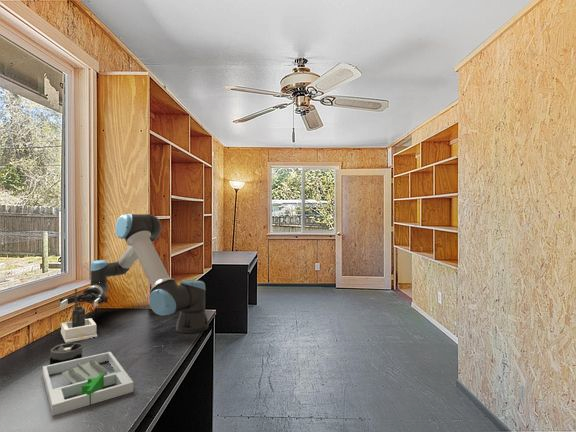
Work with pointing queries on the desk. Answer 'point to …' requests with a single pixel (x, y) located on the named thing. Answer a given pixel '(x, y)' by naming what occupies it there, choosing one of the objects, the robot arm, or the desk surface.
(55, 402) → the desk organiser
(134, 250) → the robot arm
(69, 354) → the cpu cooler
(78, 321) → the walkie-talkie
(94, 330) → the charging cradle
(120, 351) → the desk surface
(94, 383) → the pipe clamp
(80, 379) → the metal bracket
